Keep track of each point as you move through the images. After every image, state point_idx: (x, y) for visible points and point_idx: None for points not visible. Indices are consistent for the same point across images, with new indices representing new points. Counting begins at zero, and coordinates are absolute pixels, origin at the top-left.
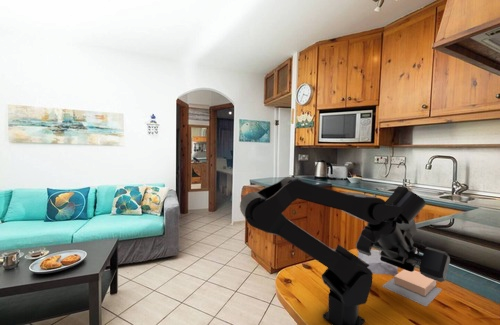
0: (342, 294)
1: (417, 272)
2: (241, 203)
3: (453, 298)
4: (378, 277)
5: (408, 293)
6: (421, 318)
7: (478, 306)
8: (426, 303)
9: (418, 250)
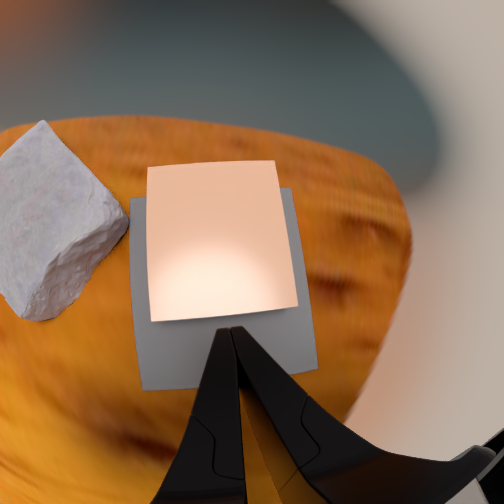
0: None
1: (202, 174)
2: None
3: (330, 212)
4: (89, 316)
5: None
6: None
7: (377, 199)
8: (309, 348)
9: (490, 457)
